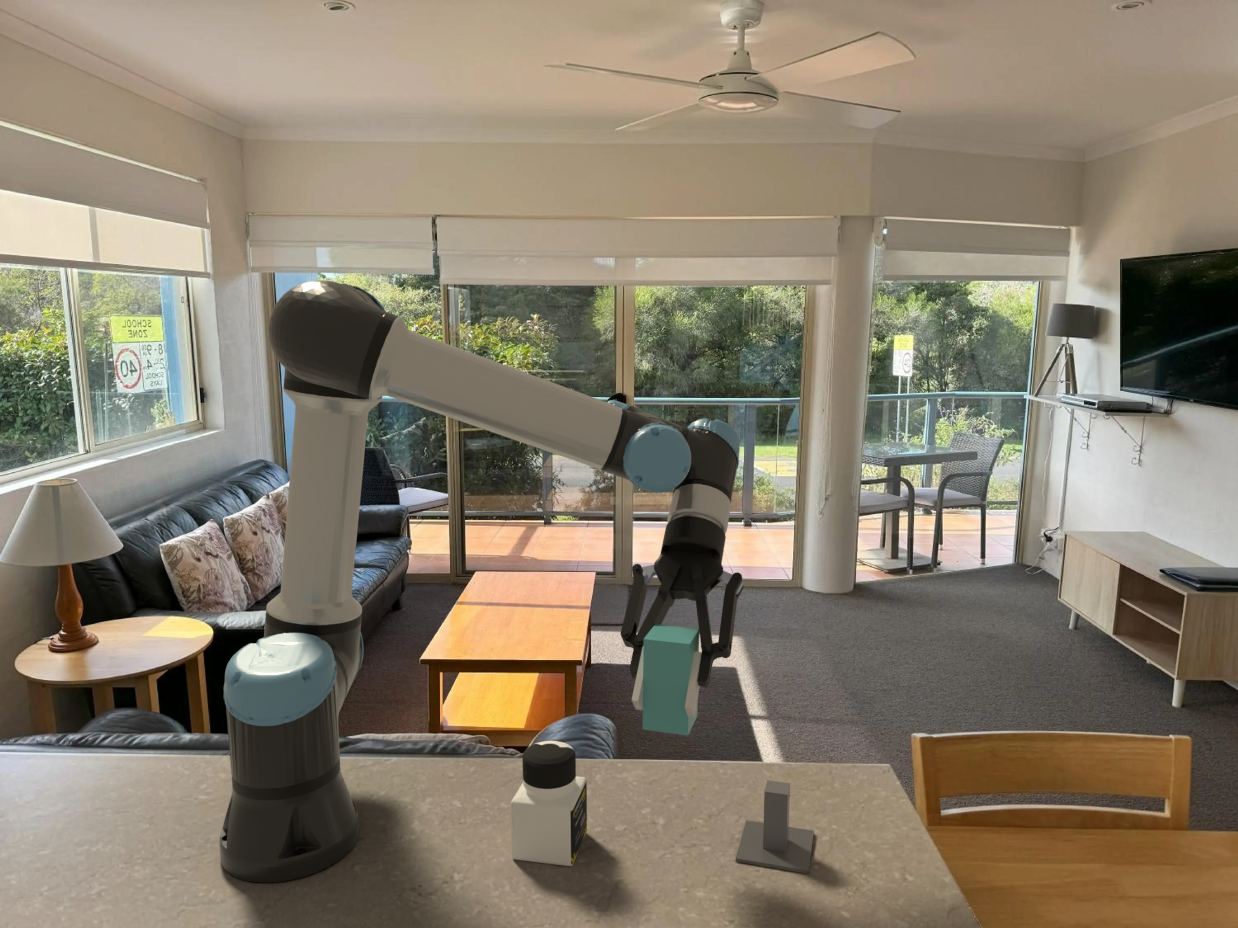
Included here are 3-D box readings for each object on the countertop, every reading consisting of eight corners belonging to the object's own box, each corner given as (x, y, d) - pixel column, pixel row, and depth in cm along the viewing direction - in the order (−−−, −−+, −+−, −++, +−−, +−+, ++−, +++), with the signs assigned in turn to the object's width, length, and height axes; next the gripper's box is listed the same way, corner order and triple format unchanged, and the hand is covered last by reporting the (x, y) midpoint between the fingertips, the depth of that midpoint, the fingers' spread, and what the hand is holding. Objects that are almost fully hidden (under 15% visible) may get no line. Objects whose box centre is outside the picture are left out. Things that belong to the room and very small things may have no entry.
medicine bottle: (572, 867, 98) (571, 766, 96) (511, 860, 99) (508, 760, 98) (587, 832, 105) (586, 737, 103) (530, 825, 106) (528, 731, 104)
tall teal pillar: (642, 729, 99) (643, 638, 98) (653, 710, 104) (655, 623, 103) (688, 735, 98) (689, 643, 96) (697, 715, 103) (699, 628, 101)
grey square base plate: (735, 861, 99) (736, 799, 98) (746, 822, 107) (747, 765, 106) (808, 873, 97) (810, 810, 96) (813, 833, 104) (815, 775, 103)
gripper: (771, 551, 110) (749, 732, 97) (631, 540, 115) (591, 710, 102) (768, 518, 104) (743, 706, 91) (619, 508, 110) (576, 684, 97)
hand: (663, 708), depth 97 cm, fingers closed on tall teal pillar, 5 cm apart
